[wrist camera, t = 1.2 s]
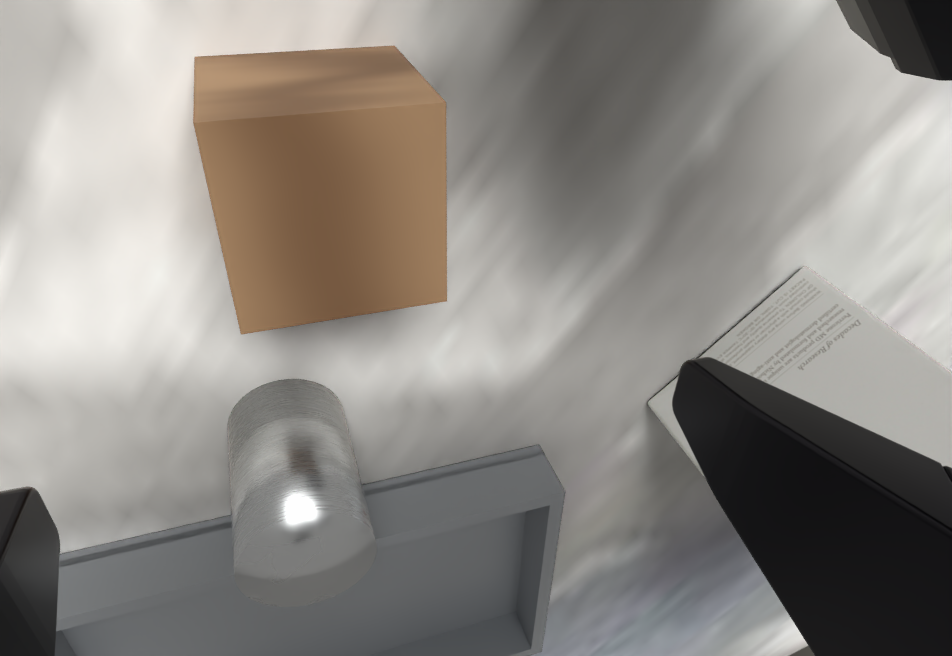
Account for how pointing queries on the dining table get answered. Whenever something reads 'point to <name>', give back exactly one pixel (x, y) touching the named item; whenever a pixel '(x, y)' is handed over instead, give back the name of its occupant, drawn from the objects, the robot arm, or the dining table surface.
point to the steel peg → (295, 496)
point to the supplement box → (836, 366)
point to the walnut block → (324, 182)
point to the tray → (362, 605)
